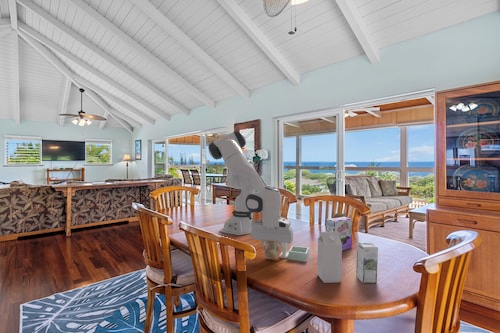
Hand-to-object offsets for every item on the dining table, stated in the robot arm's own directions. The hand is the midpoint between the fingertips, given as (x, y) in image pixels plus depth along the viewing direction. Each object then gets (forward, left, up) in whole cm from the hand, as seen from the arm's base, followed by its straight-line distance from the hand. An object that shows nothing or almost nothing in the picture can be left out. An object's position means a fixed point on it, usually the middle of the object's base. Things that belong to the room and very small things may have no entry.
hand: (271, 250), depth 121 cm
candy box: (+30, +28, -5) cm, 41 cm away
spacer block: (0, 0, -3) cm, 3 cm away
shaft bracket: (+9, +8, -5) cm, 13 cm away
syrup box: (+41, -6, -5) cm, 42 cm away
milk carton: (+27, -10, -5) cm, 29 cm away
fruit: (+30, +51, -5) cm, 59 cm away
